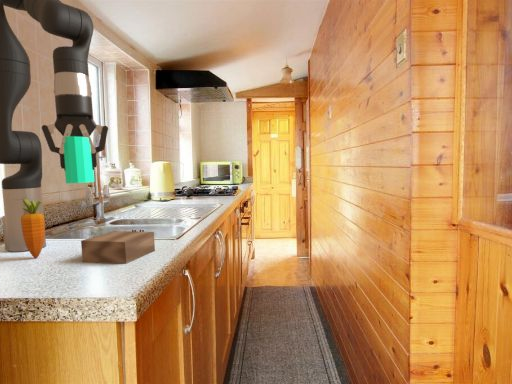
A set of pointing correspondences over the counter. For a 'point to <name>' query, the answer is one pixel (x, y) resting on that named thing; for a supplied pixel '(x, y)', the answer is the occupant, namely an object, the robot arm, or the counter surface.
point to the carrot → (33, 228)
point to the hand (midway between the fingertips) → (79, 170)
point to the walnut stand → (117, 247)
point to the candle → (78, 160)
